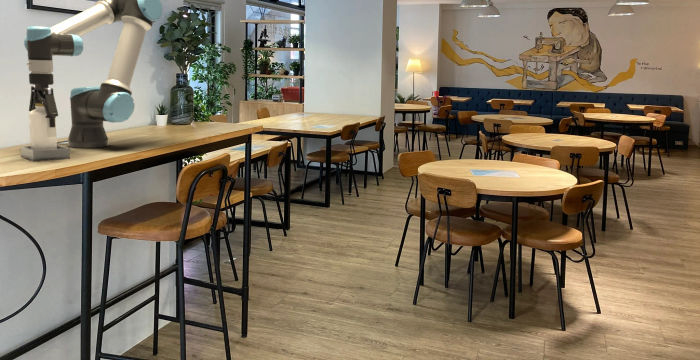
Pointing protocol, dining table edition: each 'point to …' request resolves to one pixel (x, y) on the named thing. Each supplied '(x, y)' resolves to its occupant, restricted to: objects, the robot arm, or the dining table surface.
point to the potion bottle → (40, 130)
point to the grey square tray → (45, 153)
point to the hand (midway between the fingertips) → (44, 134)
